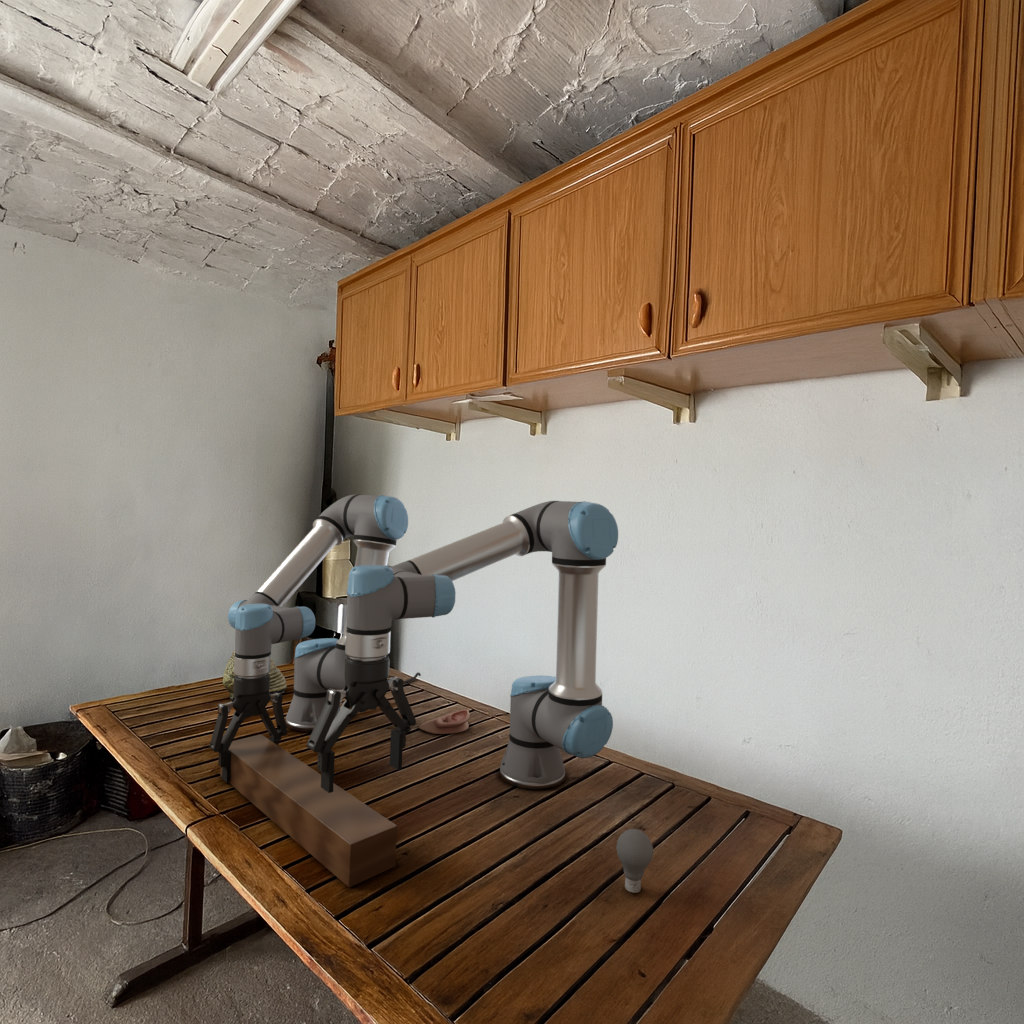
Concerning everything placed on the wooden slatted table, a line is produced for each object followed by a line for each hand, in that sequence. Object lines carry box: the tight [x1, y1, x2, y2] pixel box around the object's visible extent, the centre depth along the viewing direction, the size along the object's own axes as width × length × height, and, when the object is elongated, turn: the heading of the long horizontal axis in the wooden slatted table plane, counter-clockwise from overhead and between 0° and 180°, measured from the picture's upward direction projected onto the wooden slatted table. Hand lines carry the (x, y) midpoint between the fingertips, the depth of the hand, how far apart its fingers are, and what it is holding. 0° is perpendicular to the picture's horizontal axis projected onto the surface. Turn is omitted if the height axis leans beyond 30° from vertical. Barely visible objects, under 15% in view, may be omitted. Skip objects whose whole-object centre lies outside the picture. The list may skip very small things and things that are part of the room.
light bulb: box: [615, 828, 654, 894], centre depth 106 cm, size 6×6×10 cm
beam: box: [219, 734, 398, 888], centre depth 126 cm, size 55×9×7 cm, turn 45°
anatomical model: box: [418, 709, 471, 735], centre depth 177 cm, size 13×4×12 cm
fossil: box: [222, 650, 288, 699], centre depth 198 cm, size 9×18×15 cm, turn 132°
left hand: (248, 773), depth 142 cm, fingers closed on beam, 9 cm apart
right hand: (362, 778), depth 109 cm, fingers open, 13 cm apart
